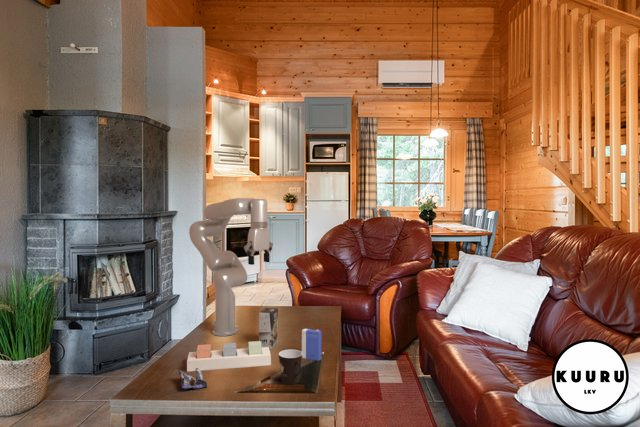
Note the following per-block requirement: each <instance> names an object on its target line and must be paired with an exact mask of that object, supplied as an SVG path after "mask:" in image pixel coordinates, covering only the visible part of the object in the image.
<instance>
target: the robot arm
mask: <svg viewBox="0 0 640 427" xmlns="http://www.w3.org/2000/svg"><path fill="white" fill-rule="evenodd" d="M203 215H204V217H205V218H206V219H207V220H198V221H195V222H192V224H190V227H189V230H188V231H189V234H188V235H189V238H190V241H191V243H192V244H193V246H194V247H195V248H196V249H197V251H198V252H199V254H200V255H201V257H202V259H203V261H204V262H205V264H206V266H207V267H208V269H209V270H210V271H213V272H215V273H214V274H213V278H212V282H213V286H214V287H213V288H214V297H215V298H214V301H215V303H214V304H215V321H214V322H212V323H211V326H213V327H214V328H213V329H212V335H214V336H217V337H228V336H229V337H230V336H234V335H236V334H238V333H239V327H236V295H235V292H234V291H233V288H234V287H238V286H242V285H244V284H245V283H246V282H247V281H248V272H247V271H246V269H245V267H244V265H243V263H242V262H241V260H240V259H239V257H238V256H237V254H236V253H234V252H233V251H231V250H219V249H218V247H217V245H216V243H214V242H213V241H212V240H211V239H209V238H210V237H219V236H221V235H222V234H223V232H224V231H225V230H226V228H227V226H228V224H229V222H230V221H231V219H232V217H233V216H238V215H240V216H241V215H250V228H249V230H248V234H247V243H246V244H245V245H244V247H243V250H244V252H245V254H246V255H247V256H248V257H247V261H248V262H247V264H248V265H251V266H254V265H255V255H254V254H255V253H256V252H261V251H263V262H265V263H270V261H271V260H270V259H271V258H270V254H271V253H272V252H271V251H272V250H273V247H274V243H273V242H271V241H270V233H269V228H268V225H269V223H268V200H267V199H265V198H252V197H251V198H249V197H247V198H246V197H245V198H244V197H241V198H240V197H237V198H230V199H226V200H223V201H218V202H214V203H210V204H208V205H206V206H205V207H204V209H203Z"/></svg>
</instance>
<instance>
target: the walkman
mask: <svg viewBox="0 0 640 427" xmlns="http://www.w3.org/2000/svg"><path fill="white" fill-rule="evenodd" d="M301 352H302V359H305V360H312V361H320V360H321V359H322V330H320V329H311V328H303V329H302V330H301Z"/></svg>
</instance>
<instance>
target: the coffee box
mask: <svg viewBox="0 0 640 427" xmlns="http://www.w3.org/2000/svg"><path fill="white" fill-rule="evenodd" d="M278 323H279V308H278V307H264V308H263V309H262V310H260V311H259V312H258V341H261V345H262V347H269V350H273V348H275V346H277V344H278V343H279V324H278Z"/></svg>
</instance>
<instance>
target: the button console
mask: <svg viewBox="0 0 640 427" xmlns="http://www.w3.org/2000/svg"><path fill="white" fill-rule="evenodd" d="M271 354H272V353H271V349H269V347H262V354H255V355H249V354H248V347H246V348H236V356H226V357H223V349H217V350H211V358H198V359H197V351H189V352H188V356H187V360H186V371H187V372H196V370H195V369H196V368H198V369H200V370H201V371H212V370H225V369H237V368H238V369H239V368H240V369H241V368H251V367H262V366H263V367H265V366H272V355H271Z"/></svg>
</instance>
